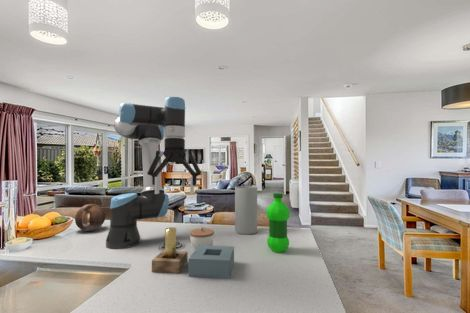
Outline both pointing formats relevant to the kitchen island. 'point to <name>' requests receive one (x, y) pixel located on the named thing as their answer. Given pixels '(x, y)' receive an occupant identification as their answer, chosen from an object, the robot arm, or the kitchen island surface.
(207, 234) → the lidded jar
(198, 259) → the dock socket
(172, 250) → the brass pin
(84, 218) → the wooden sphere
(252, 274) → the kitchen island surface
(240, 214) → the cylinder vase
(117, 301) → the kitchen island surface
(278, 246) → the plastic bottle
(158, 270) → the block
